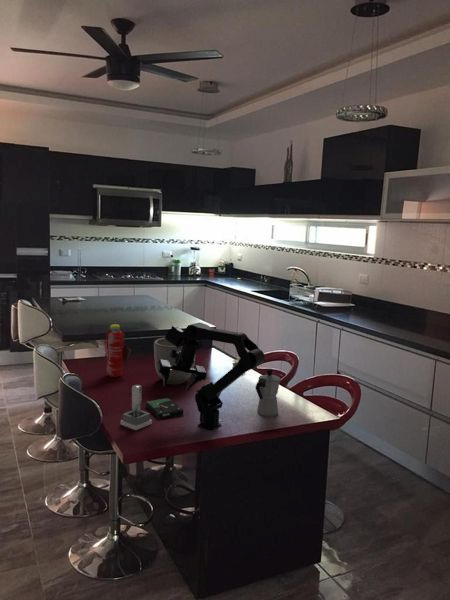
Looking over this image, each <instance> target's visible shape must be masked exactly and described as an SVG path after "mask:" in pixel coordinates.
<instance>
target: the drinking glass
mask: <svg viewBox="0 0 450 600" xmlns="http://www.w3.org/2000/svg"><path fill="white" fill-rule="evenodd" d="M131 411H132V416H134V417H139V416H141V411H142V385H140V384H134V385H132V386H131Z"/></svg>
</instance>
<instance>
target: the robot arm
mask: <svg viewBox="0 0 450 600" xmlns="http://www.w3.org/2000/svg"><path fill="white" fill-rule="evenodd" d="M164 338H165V340H166V341H168V342H169V343H171V344H172V345H174V346H176V347H177V348H179V347H182V349H181V351H180V352H177V350H175V349H171V352H170V357H171V358H173V360H175V361H174V362H175V364H176V366H175V365H170V363H169V361H167V360H161V359H160V360H159V361H158V363H157V367H158V371H159V372H160V373H161V374H162V375H163V379H162V381H163V384H162V385H163V388H165V387H166V386H167V381H168V378H169V373H170V370H173V371H179V372H186V373H191V376H190V377H189V380H188V382H187V385H186V388H185V391H187V392H188V391H189V390H190V389H191V388H192V387H194V386H195V385H196V384H197V383H199V382H202V381H206V379H207V376H208V374H207V371H206V369H205V367H204V366H202V365H197V364H196V365H194V368H191V366H192V363H194V361H195V362H196V356H197V355H196V354H197V352H198V350H202V349H204V348H205V346H204V344H203V342H202V341H204V340H205V341H206V340H209V341H214V342H220V343H225V344H231V345H233V346H234V347H235V350H236V353H237V355H238V357H239V361H238V363H237V365H236V366H235V367H234V368H232V367H231V369H230V370H228V372H226V373H225V374H224V375H223V376H221V378H218V380H217V381H216V382H213V381H210V382H209V383H206V384H204V385H202V386H201V387H200V389H198V390H196V393H195V395H194V399H195V404H196V407H197V410H198V412H199V423H197V427H200V428H203V429H207V430H210V431H212V430H215V429H216V428H218V427H220V426H222V423H220V410H219V409H221V408H222V407H223V403H224V402H223V401H222V400H221V399H220V396H221V393H222V392H223V391H225V389H226V388H228V387H230V386H231V385H232V384H233V383H234V382H236V381H237V380H238V379H240V377H242V376H243V375H244V374H245V373H247V372H249V371H250V370H253V369H255V368H256V367H258V366H261V365H262V364H263V363H265V362H266V357H265V353H264V351H263V350H261V349H260V348H259V346H258V345H257V344H256V343H255V342H254V341H252V340H251V339H250V338H249V337H248V335H247V334H246V333H244V332H238V331H237V332H236V331H230V330H225V329H220V328H219V329H218V328H214V327H211V326H210V325H209V324H207V323H203V322H196V323H192V324H189V325H187V326H186V328H185V330H183V329H181V328H179V326H177V325H171V328H170V329H169V330H167V333H165V336H164ZM195 355H196V356H195ZM194 358H195V360H194Z"/></svg>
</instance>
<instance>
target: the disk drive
mask: <svg viewBox="0 0 450 600" xmlns="http://www.w3.org/2000/svg"><path fill="white" fill-rule="evenodd" d="M145 407H146V408H147V409H148V410H149V409H150V410H151V411H152V412H153V413H154V414H155V415H156V416H157V417H158V420H161V418H162V419H168V418H173V417H174V416H175V417H179V416H180V417H181V416H184V408H182V407H181V406H180V405H178V404H177V403H176V402H174V401H173V400H172V399H171V398H169V397H166V398H164V397H163V398H158V399H154V400H147V401H146V403H145ZM150 410H149V411H150ZM151 411H150V412H151ZM152 412H151V413H152ZM153 413H152V414H153ZM154 414H153V415H154ZM156 416H155V417H156ZM167 417H168V418H167Z"/></svg>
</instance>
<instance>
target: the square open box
mask: <svg viewBox="0 0 450 600" xmlns="http://www.w3.org/2000/svg"><path fill="white" fill-rule="evenodd" d="M152 423H153V420H152V419H151V413H150V412H147V411H144V410H141V416H139V417H134V416H132V410H130V411H127V412H125V413H122V419H121V420H120V425H121V426H123V427H126V428H129V429H132V430H134V431H138V430H141V429H142V428H146V427H147V426H150V425H152Z"/></svg>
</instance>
